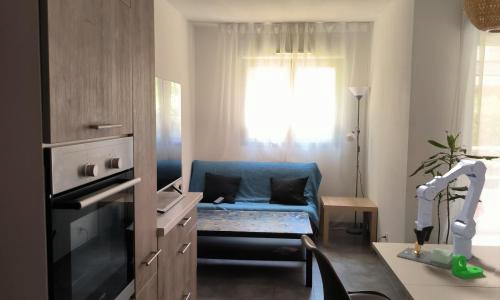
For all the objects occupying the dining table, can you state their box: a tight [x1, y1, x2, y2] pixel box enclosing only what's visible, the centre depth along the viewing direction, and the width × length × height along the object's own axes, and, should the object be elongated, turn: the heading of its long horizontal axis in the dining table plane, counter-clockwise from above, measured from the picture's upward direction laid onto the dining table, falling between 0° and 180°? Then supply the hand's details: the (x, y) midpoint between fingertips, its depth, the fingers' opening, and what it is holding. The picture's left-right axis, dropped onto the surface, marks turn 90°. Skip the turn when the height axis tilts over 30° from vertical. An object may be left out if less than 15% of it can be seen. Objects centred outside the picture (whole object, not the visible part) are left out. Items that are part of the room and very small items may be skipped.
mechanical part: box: [451, 254, 484, 280], centre depth 176 cm, size 12×6×8 cm, turn 112°
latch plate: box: [396, 247, 454, 269], centre depth 195 cm, size 15×22×1 cm
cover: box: [430, 247, 453, 264], centre depth 190 cm, size 9×7×4 cm
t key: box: [414, 240, 422, 252], centre depth 198 cm, size 2×7×5 cm, turn 154°
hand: (423, 243), depth 194 cm, fingers open, 7 cm apart
